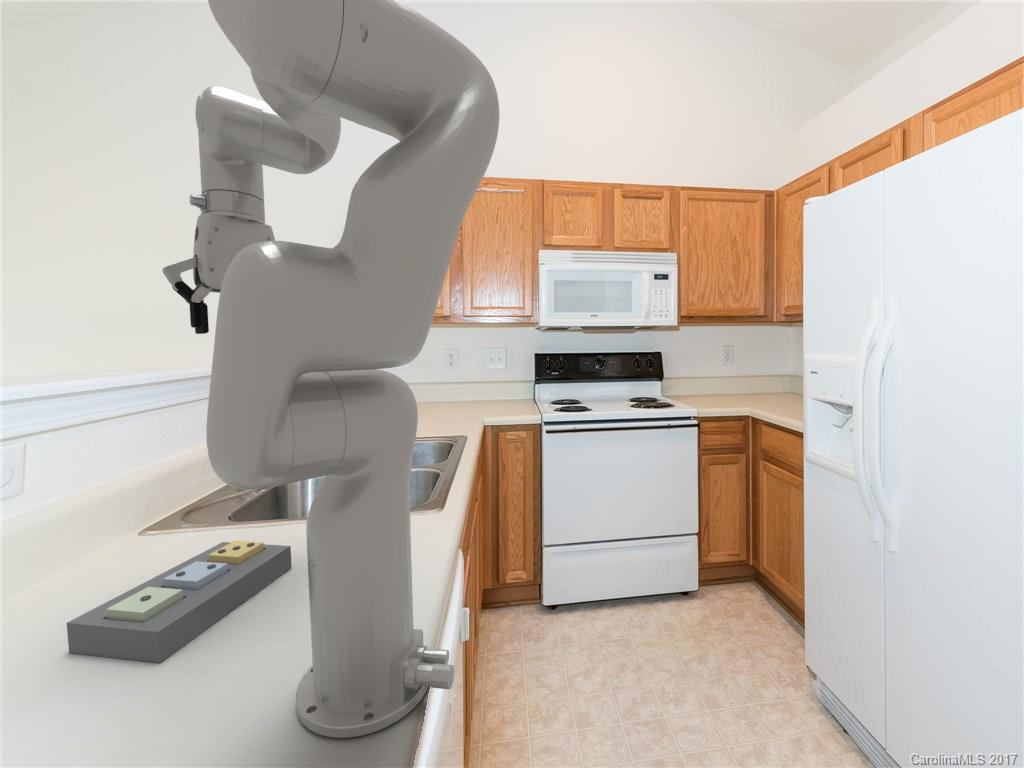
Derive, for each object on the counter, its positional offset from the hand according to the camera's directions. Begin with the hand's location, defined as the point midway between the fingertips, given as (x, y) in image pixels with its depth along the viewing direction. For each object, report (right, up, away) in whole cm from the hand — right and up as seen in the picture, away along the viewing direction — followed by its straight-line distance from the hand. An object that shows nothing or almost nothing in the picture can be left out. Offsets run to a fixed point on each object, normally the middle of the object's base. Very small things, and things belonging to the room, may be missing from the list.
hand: (241, 334), depth 65 cm
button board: (-3, -37, -4) cm, 37 cm away
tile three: (-2, -34, +2) cm, 34 cm away
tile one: (-4, -35, -11) cm, 37 cm away
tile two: (-3, -34, -4) cm, 35 cm away
